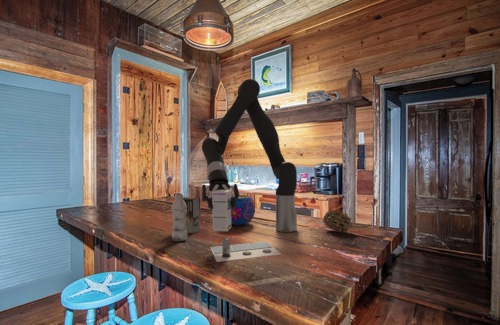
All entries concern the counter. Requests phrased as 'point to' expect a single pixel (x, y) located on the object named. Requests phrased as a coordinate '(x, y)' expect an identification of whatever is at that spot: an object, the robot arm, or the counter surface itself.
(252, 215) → the ceramic pot
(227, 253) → the peg
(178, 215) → the plastic bottle
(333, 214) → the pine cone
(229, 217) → the syrup box
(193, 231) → the coffee box
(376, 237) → the counter surface
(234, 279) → the counter surface
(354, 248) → the counter surface
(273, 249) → the board
